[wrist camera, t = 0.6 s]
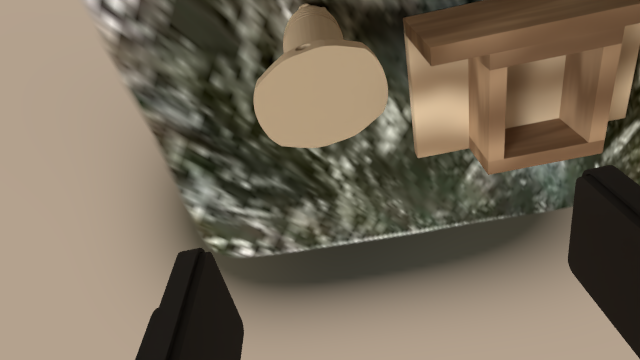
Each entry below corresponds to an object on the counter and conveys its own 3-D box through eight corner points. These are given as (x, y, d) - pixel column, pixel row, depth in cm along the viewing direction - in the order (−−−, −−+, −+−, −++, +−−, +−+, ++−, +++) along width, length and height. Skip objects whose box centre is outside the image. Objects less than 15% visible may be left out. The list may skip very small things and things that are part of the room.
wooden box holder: (402, 17, 34) (430, 47, 27) (644, -35, 32) (735, -17, 26) (414, 151, 40) (439, 202, 33) (616, 112, 39) (683, 156, 32)
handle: (359, 39, 34) (398, 121, 22) (283, 67, 35) (277, 161, 23) (340, -25, 32) (371, 27, 19) (259, 7, 33) (237, 76, 20)
